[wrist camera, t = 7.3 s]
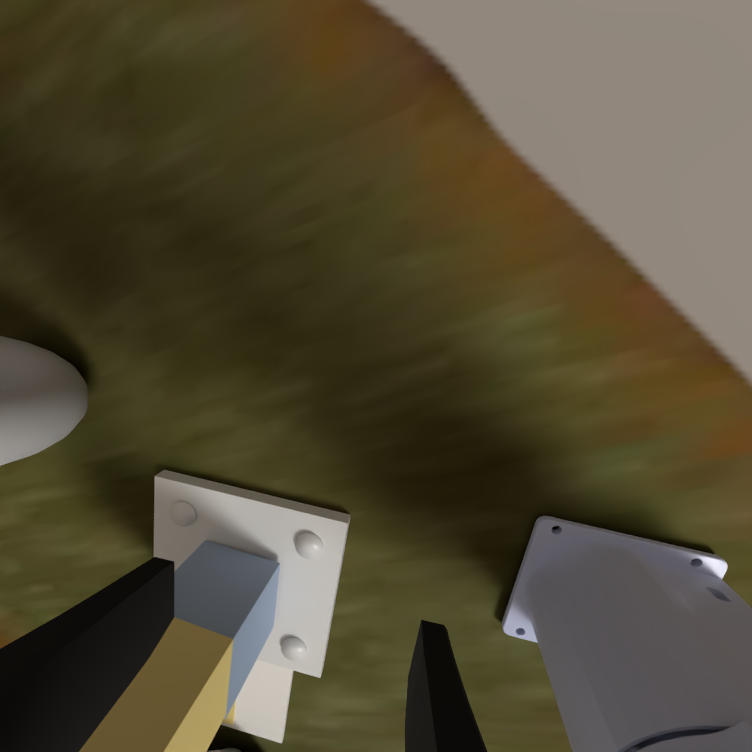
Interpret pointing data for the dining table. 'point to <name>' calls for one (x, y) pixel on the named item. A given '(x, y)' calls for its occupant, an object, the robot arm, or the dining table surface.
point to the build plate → (262, 554)
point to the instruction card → (262, 702)
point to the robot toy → (226, 750)
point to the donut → (36, 399)
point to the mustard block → (171, 696)
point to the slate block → (229, 602)
